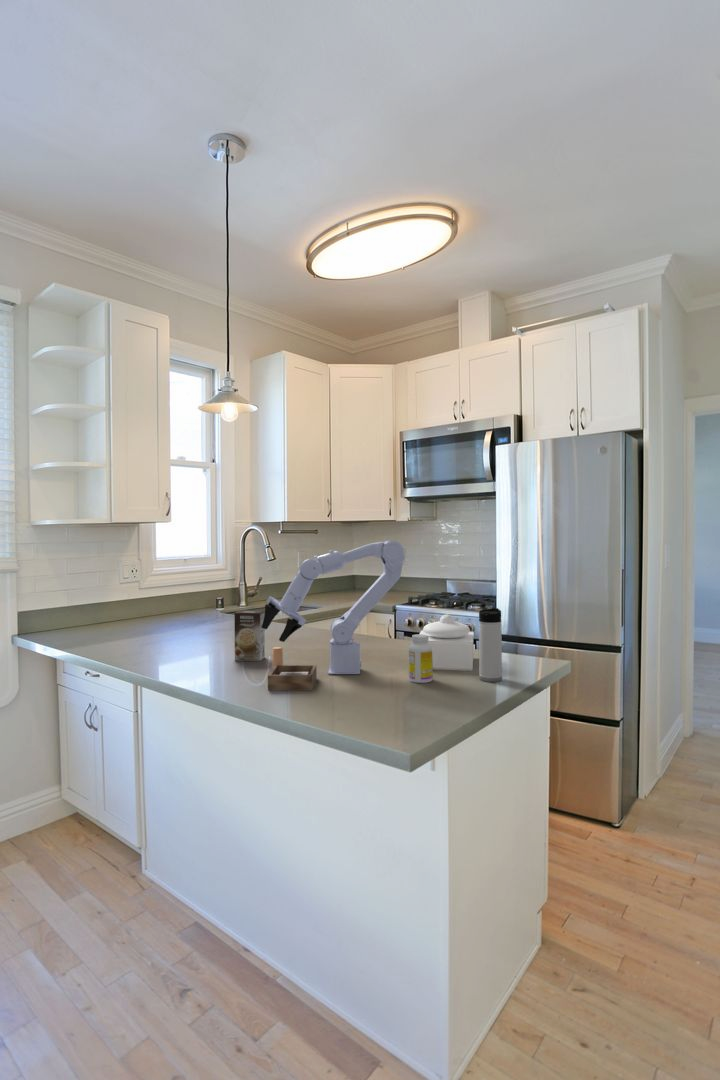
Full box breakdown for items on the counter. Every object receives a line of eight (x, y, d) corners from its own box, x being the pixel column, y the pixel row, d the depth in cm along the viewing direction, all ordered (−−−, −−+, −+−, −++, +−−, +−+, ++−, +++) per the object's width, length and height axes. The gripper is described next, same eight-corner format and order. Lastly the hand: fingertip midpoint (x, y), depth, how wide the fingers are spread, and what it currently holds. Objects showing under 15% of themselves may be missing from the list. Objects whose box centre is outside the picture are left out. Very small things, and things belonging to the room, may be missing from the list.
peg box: (316, 678, 168) (316, 664, 168) (312, 690, 156) (312, 675, 156) (275, 678, 168) (275, 665, 168) (267, 690, 156) (267, 675, 156)
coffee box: (233, 661, 192) (232, 612, 191) (239, 656, 198) (238, 610, 198) (260, 661, 191) (260, 612, 190) (265, 657, 197) (265, 610, 197)
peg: (283, 673, 174) (283, 647, 174) (282, 676, 171) (281, 649, 171) (273, 673, 174) (273, 647, 174) (272, 676, 171) (271, 649, 171)
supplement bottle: (435, 679, 166) (435, 634, 165) (428, 684, 160) (428, 638, 159) (413, 676, 168) (413, 632, 168) (405, 682, 162) (405, 636, 162)
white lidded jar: (414, 669, 178) (414, 617, 178) (421, 656, 196) (420, 609, 196) (472, 671, 175) (472, 619, 174) (474, 658, 192) (473, 610, 192)
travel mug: (506, 678, 165) (506, 608, 164) (494, 683, 160) (494, 611, 160) (487, 675, 169) (486, 607, 169) (475, 679, 164) (474, 609, 164)
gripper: (271, 581, 174) (248, 620, 173) (305, 604, 167) (282, 645, 166) (283, 586, 180) (261, 624, 179) (317, 608, 173) (294, 648, 172)
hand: (272, 634), depth 173 cm, fingers open, 7 cm apart
